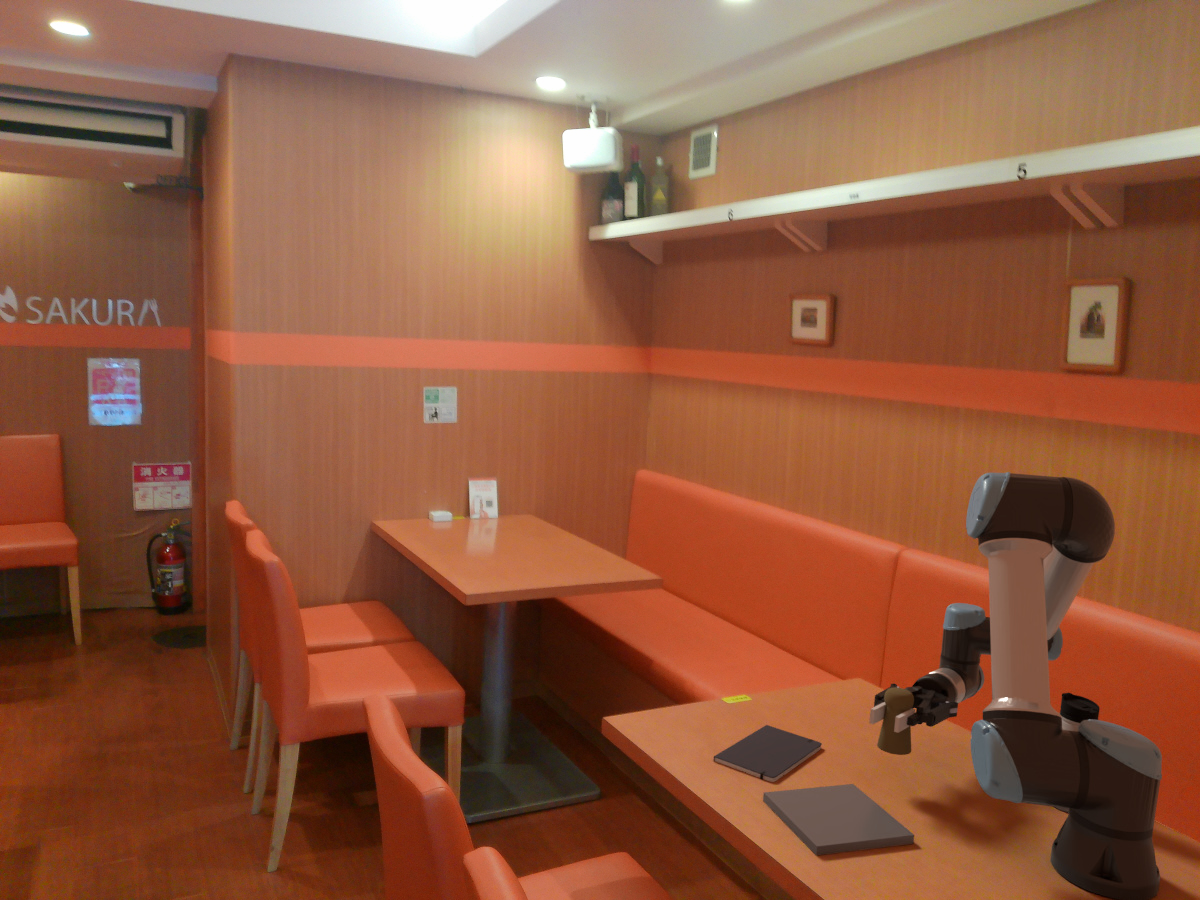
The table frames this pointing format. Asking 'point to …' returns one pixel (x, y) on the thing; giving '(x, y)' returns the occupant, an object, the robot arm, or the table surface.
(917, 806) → the table surface
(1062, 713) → the travel mug
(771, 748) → the notebook
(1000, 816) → the table surface
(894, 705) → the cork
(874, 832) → the slate board
